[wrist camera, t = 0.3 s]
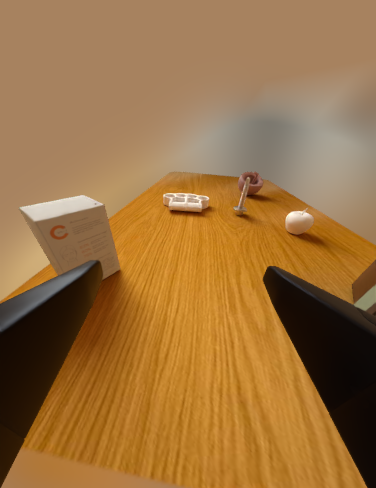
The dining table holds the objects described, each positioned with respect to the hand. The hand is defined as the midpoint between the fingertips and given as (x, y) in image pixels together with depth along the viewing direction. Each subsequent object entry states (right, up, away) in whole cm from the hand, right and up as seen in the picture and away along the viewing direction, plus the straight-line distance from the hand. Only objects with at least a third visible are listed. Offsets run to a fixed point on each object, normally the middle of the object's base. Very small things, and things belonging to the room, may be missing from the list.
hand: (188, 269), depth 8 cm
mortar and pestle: (+31, +28, +73) cm, 84 cm away
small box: (-18, -4, +20) cm, 27 cm away
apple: (+33, +5, +40) cm, 52 cm away
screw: (+19, +12, +49) cm, 54 cm away
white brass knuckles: (-1, +16, +52) cm, 55 cm away
